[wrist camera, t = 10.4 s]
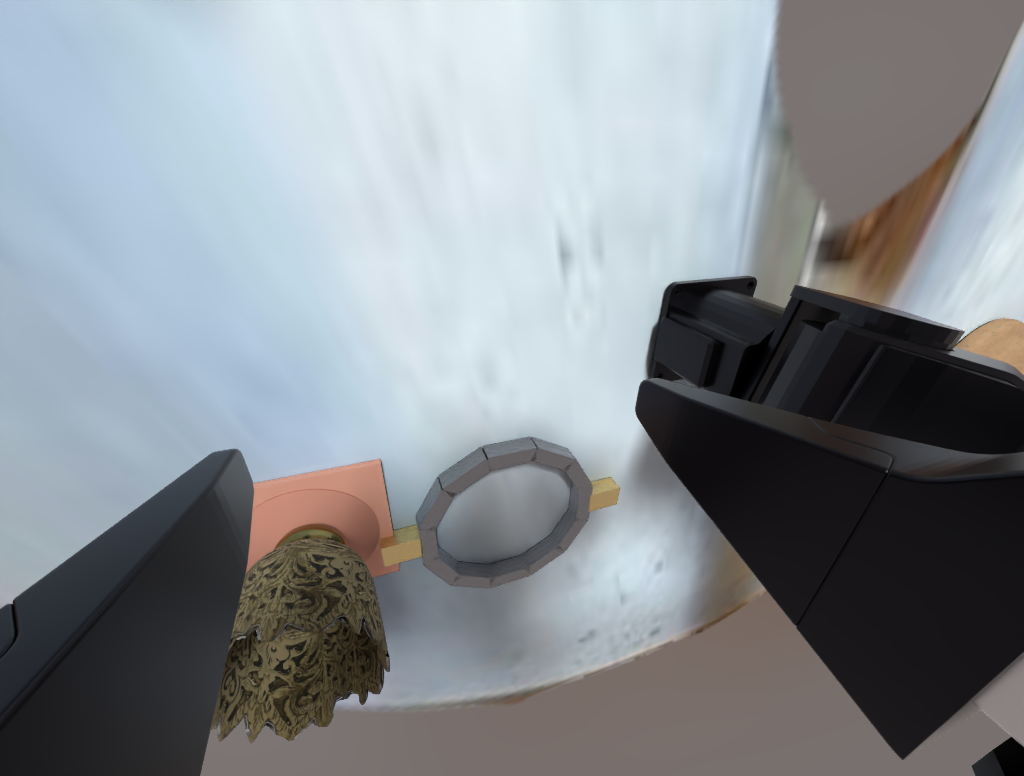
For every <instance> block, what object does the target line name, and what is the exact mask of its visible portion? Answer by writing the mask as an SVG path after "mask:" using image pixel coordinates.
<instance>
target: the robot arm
mask: <svg viewBox="0 0 1024 776" xmlns="http://www.w3.org/2000/svg"><path fill="white" fill-rule="evenodd" d="M756 285H757V280H756V278H754V277H751V276H740V277H728V278H716V279H705V280H693V281H681V282H674V283H671V284H670V285H669V286H668V288H667V290H666V295H665V300H664V305H663V310H662V315H661V320H660V325H659V330H658V335H657V340H656V345H655V350H654V355H653V360H652V364H651V369H650V374H649V377H650V379H646V380H643V381H642V382H641V384H640V386H639V391H638V396H637V401H636V407H635V412H636V415H637V418H638V419H639V421H640V422H641V424H642V426H643V427H644V429H645V430H646V432H647V433H648V435H649V437H650V438H651V440H652V441H653V443H654V444H655V446H656V448H657V449H658V451H659V452H660V454H661V455H662V457H663V458H664V460H665V461H666V463H667V464H668V465H669V467H670V468H671V469H672V471H673V472H674V473H675V475H676V476H677V477H678V478H679V480H680V481H681V482H682V483H683V485H684V486H685V487H686V488H687V490H688V491H689V492H690V494H691V495H692V496H693V497H694V499H695V500H696V501H697V502H698V504H699V505H700V506H701V507H702V509H703V510H704V511H705V513H706V514H707V515H708V516H709V518H710V519H711V520H712V521H713V523H714V524H715V525H716V527H717V528H718V529H719V530H720V532H721V533H722V534H723V535H724V537H725V538H726V539H727V540H728V542H729V543H730V544H731V546H732V547H733V548H734V549H735V551H736V552H737V553H738V554H739V556H740V557H741V558H742V559H743V561H744V562H745V563H746V565H747V566H748V567H749V568H750V570H751V571H752V572H753V573H754V575H755V576H756V577H757V578H758V580H759V581H760V582H761V584H762V585H763V586H764V587H765V589H766V590H767V591H768V592H769V594H770V595H771V596H772V597H773V599H774V600H775V601H776V602H777V604H778V605H779V606H780V608H781V609H782V610H783V611H784V613H785V614H786V615H787V616H788V618H789V619H790V620H791V622H792V623H793V624H794V625H795V626H796V628H797V630H798V631H799V632H800V633H801V635H802V636H803V637H804V638H805V640H806V641H807V642H808V644H809V645H810V646H811V647H812V649H813V650H814V651H815V652H816V654H817V655H818V656H819V657H820V659H821V660H822V661H823V663H824V664H825V665H826V666H827V668H828V669H829V670H830V672H831V673H832V674H833V675H834V676H835V678H836V679H837V680H838V682H839V683H840V684H841V685H842V687H843V688H844V689H845V691H846V692H847V693H848V694H849V696H850V697H851V698H852V700H853V701H854V702H855V703H856V705H857V706H858V707H859V708H860V710H861V711H862V712H863V714H864V715H865V716H866V717H867V718H868V720H869V721H870V722H871V724H872V725H873V726H874V727H875V729H876V730H877V731H878V733H879V734H880V735H881V736H882V737H883V739H884V740H885V741H886V743H887V744H888V745H889V746H890V747H891V749H892V750H893V751H894V752H895V753H896V754H897V755H898V756H899V757H900V758H901V759H902V760H905V759H906V758H908V757H910V756H911V755H913V754H914V753H916V752H917V751H919V750H920V749H922V748H924V747H925V746H927V745H928V744H930V743H931V742H933V741H934V740H936V739H938V738H939V737H941V736H942V735H944V734H945V733H947V732H948V731H950V730H952V729H953V728H954V727H956V726H958V725H959V724H961V723H962V722H964V721H966V720H967V719H969V718H970V717H972V716H973V715H975V714H976V713H978V712H979V711H981V710H982V711H983V712H984V713H985V714H986V715H987V716H988V717H990V718H991V719H992V720H993V721H994V722H995V723H996V724H998V725H999V726H1000V727H1001V728H1002V729H1003V730H1005V731H1006V732H1007V733H1008V734H1009V735H1010V736H1011V738H1009V739H1008V740H1006V741H1005V742H1003V743H1002V744H1001V745H999V746H998V747H996V748H995V749H993V750H992V751H991V752H989V753H988V754H987V755H985V756H984V757H983V758H982V759H980V760H979V761H978V762H976V763H975V764H974V765H972V768H973V770H974V773H975V776H1024V375H1023V374H1022V373H1021V372H1020V371H1019V370H1018V369H1016V368H1015V367H1014V366H1012V365H1010V364H1008V363H1006V362H1003V361H999V360H996V359H993V358H989V357H986V356H983V355H979V354H976V353H973V352H970V351H966V350H963V349H960V348H956V347H955V345H956V343H957V342H958V341H959V339H960V338H961V336H962V335H963V334H964V332H965V331H963V330H960V329H957V328H953V327H950V326H947V325H944V324H941V323H938V322H935V321H932V320H929V319H926V318H922V317H919V316H916V315H913V314H910V313H907V312H904V311H900V310H897V309H893V308H889V307H885V306H881V305H878V304H874V303H870V302H866V301H863V300H859V299H855V298H851V297H847V296H842V295H838V294H834V293H829V292H825V291H820V290H816V289H811V288H807V287H803V286H798V285H795V286H794V288H793V290H792V292H791V294H790V296H792V297H791V299H790V301H789V303H788V305H787V306H786V308H783V307H780V306H777V305H774V304H771V303H768V302H765V301H762V300H759V299H756V298H753V295H754V291H755V288H756ZM676 289H677V291H676V293H675V294H674V292H675V290H676ZM658 374H659V375H658ZM657 375H658V376H657ZM679 379H685V380H687V381H688V382H690V383H691V384H693V385H695V386H696V387H698V388H695V387H691V386H687V385H683V384H679V383H676V382H672V381H673V380H679ZM699 388H702V389H699ZM703 389H704V390H703ZM253 500H254V485H253V481H252V478H251V476H250V473H249V471H248V468H247V465H246V463H245V460H244V458H243V455H242V453H241V452H240V451H239V450H238V449H229V450H223V451H217V452H213V453H211V454H210V455H208V456H207V457H206V458H204V459H203V460H202V461H200V462H199V463H198V464H196V465H195V466H194V467H192V468H191V469H189V470H188V471H187V472H185V473H184V474H183V475H181V476H180V477H179V478H177V479H176V480H175V481H173V482H172V483H171V484H169V485H168V486H166V487H165V488H164V489H162V490H161V491H160V492H158V493H157V494H156V495H154V496H153V497H152V498H150V499H149V500H147V501H146V502H145V503H143V504H142V505H141V506H139V507H138V508H137V509H135V510H134V511H133V512H131V513H130V514H128V515H127V516H126V517H124V518H123V519H122V520H120V521H119V522H118V523H116V524H115V525H114V526H112V527H111V528H110V529H108V530H107V531H105V532H104V533H103V534H101V535H100V536H99V537H97V538H96V539H95V540H93V541H92V542H91V543H89V544H88V545H86V546H85V547H84V548H82V549H81V550H80V551H78V552H77V553H76V554H74V555H73V556H72V557H70V558H69V559H68V560H66V561H65V562H63V563H62V564H61V565H59V566H58V567H57V568H55V569H54V570H53V571H51V572H50V573H49V574H47V575H46V576H44V577H43V578H42V579H40V580H39V581H38V582H36V583H35V584H34V585H32V586H31V587H30V588H28V589H27V590H26V591H24V592H23V593H21V594H20V595H19V596H17V597H16V598H15V599H14V600H13V604H7V605H5V606H4V607H2V608H1V609H0V776H200V774H201V769H202V765H203V761H204V756H205V751H206V747H207V743H208V738H209V734H210V730H211V725H212V721H213V716H214V712H215V707H216V703H217V699H218V694H219V690H220V685H221V681H222V676H223V672H224V668H225V663H226V659H227V654H228V650H229V645H230V641H231V637H232V632H233V628H234V623H235V619H236V614H237V610H238V606H239V601H240V597H241V592H242V588H243V583H244V579H245V574H246V569H247V564H248V555H249V545H250V534H251V523H252V511H253Z"/></svg>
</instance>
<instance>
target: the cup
mask: <svg viewBox="0 0 1024 776" xmlns="http://www.w3.org/2000/svg"><path fill="white" fill-rule="evenodd" d="M387 648H388V647H387V643H386V638H385V633H384V628H383V623H382V618H381V613H380V608H379V603H378V598H377V594H376V590H375V586H374V583H373V580H372V576H371V574H370V572H369V569H368V567H367V565H366V564H365V562H364V561H363V559H362V558H361V557H360V556H359V555H358V554H357V553H356V552H355V551H354V550H352V549H351V548H350V547H348V546H346V544H345V541H344V539H343V538H342V536H341V535H340V533H339V532H338V531H337V530H335V529H334V528H332V527H330V526H327V525H323V524H307V525H302V526H299V527H297V528H294V529H292V530H291V531H289V532H288V533H286V534H285V535H284V536H283V537H282V538H281V539H280V541H279V542H278V543H277V545H276V546H275V548H274V550H273V551H271V552H269V553H268V554H266V555H265V556H264V557H262V558H261V559H260V560H258V561H257V562H256V563H255V564H254V565H253V566H252V567H251V568H250V569H249V570H248V571H247V573H246V574H245V579H244V583H243V588H242V592H241V597H240V601H239V606H238V610H237V614H236V619H235V623H234V628H233V632H232V637H231V641H230V645H229V650H228V654H227V659H226V663H225V668H224V672H223V676H222V681H221V685H220V690H219V694H218V699H217V703H216V707H215V712H214V716H213V721H212V725H211V730H212V729H216V728H217V732H218V739H219V741H222V740H223V739H224V738H225V737H226V736H228V734H229V733H230V732H231V731H232V730H233V729H234V727H236V726H237V725H239V724H240V722H241V721H242V719H243V718H244V723H245V731H246V733H247V735H248V739H249V741H250V743H253V741H254V740H255V739H256V738H257V736H258V734H259V733H260V731H261V730H262V728H263V726H268V727H270V729H272V730H273V732H274V734H277V735H280V736H282V737H284V738H286V739H287V740H288V741H291V740H294V739H295V738H297V737H298V736H299V735H300V734H301V733H302V732H303V731H304V730H305V729H306V728H307V727H309V726H310V725H311V724H312V723H313V724H315V725H316V726H318V727H327V726H328V725H329V724H330V722H331V720H332V718H333V710H334V706H335V702H337V701H336V700H338V699H339V698H341V697H342V698H341V699H339V700H344V699H347V698H348V697H349V696H350V695H351V694H353V693H354V694H358V695H359V701H360V703H361V705H363V704H365V702H366V700H367V697H368V690H369V692H372V694H380V692H381V690H382V688H383V683H384V668H385V670H386V671H387V672H390V659H389V654H388V650H387ZM351 692H353V693H351ZM339 700H338V701H339Z"/></svg>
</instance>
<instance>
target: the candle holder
mask: <svg viewBox="0 0 1024 776" xmlns="http://www.w3.org/2000/svg"><path fill="white" fill-rule="evenodd" d="M955 347H956V348H960V349H963V350H966V351H970V352H973V353H976V354H979V355H983V356H986V357H989V358H993V359H996V360H999V361H1003V362H1006V363H1008V364H1010V365H1012V366H1014V367H1015V368H1016V369H1018V370H1019V371H1020V372H1021V373H1022V374H1023V375H1024V323H1022V322H1020V321H1018V320H1014V319H1005V318H1003V319H997V320H994V321H991V322H988V323H986V324H984V325H983V326H981V327H979V328H978V329H976V330H975V331H973V332H972V333H970V334H969V335H968V336H967V337H965V338H964V339H963V340H962V341H961V342H960V343H958V344H957V345H956V346H955Z"/></svg>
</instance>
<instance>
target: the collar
mask: <svg viewBox="0 0 1024 776" xmlns="http://www.w3.org/2000/svg"><path fill="white" fill-rule="evenodd" d="M532 461H533V462H537V463H540V464H544V465H547V466H551V467H555V468H558V469H562V470H565V472H566V473H567V475H568V476H569V477H570V479H571V480H572V486H571V494H570V503H569V509H568V511H567V512H566V513H565V515H564V516H563V518H562V519H561V521H560V522H559V524H558V525H557V526H556V528H555V529H554V531H553V532H552V534H551V535H550V536H548V537H547V538H545V539H544V540H543V541H541V542H540V543H538V544H537V545H535V546H534V547H532V548H531V549H530V550H528V551H527V552H525V553H524V554H522V555H520V556H516V557H513V558H510V559H506V560H503V561H499V562H496V563H492V564H489V565H486V564H477V563H468V562H459V561H456V560H454V559H453V558H452V557H451V556H449V555H448V554H447V553H446V552H445V551H443V550H442V549H441V548H440V547H439V546H437V540H436V531H435V528H436V527H437V525H438V523H439V522H440V520H441V518H442V517H443V515H444V513H445V511H446V510H447V508H448V506H449V505H450V503H451V501H452V500H453V498H454V496H455V495H457V494H458V493H459V492H461V491H462V490H464V489H465V488H467V487H468V486H470V485H471V484H473V483H474V482H475V481H477V480H478V479H480V478H481V477H483V476H484V475H486V474H487V473H489V472H490V471H491V470H496V469H500V468H505V467H509V466H514V465H519V464H523V463H528V462H532ZM619 491H620V487H619V486H618V485H617V484H616V482H615V481H614V480H613V479H612V478H611V477H610V478H606V479H602V480H597V481H593V482H590V481H589V479H588V477H587V476H586V474H585V473H584V471H583V470H582V468H581V466H580V465H579V463H578V462H577V460H576V459H575V457H574V456H573V455H572V453H571V452H570V451H569V449H567V448H565V447H561V446H558V445H555V444H552V443H549V442H546V441H543V440H539V439H536V438H533V437H531V438H530V437H526V438H521V439H516V440H511V441H506V442H501V443H496V444H491V445H486V446H482V448H481V447H480V448H478V449H477V450H475V451H474V452H472V453H471V454H470V455H468V456H467V457H465V458H464V459H462V460H461V461H459V462H458V463H456V464H455V465H454V466H452V467H451V468H449V469H448V470H446V471H445V472H443V473H442V474H440V475H439V477H437V479H436V481H435V482H434V484H433V486H432V488H431V489H430V491H429V493H428V495H427V497H426V498H425V500H424V502H423V504H422V505H421V507H420V509H419V511H418V513H417V514H416V521H417V525H414V526H410V527H406V528H402V529H397V530H393V536H389V537H385V538H381V539H380V543H381V551H382V556H383V561H384V566H389V565H393V564H396V563H400V562H404V561H407V560H411V559H415V558H419V557H422V561H423V564H424V566H425V567H427V568H428V569H429V570H431V571H432V572H433V573H435V574H436V575H437V576H439V577H440V578H441V579H443V580H444V581H445V582H447V583H448V584H449V585H452V586H466V587H479V588H489V587H490V588H492V587H495V586H498V585H502V584H505V583H508V582H511V581H515V580H518V579H521V578H524V577H528V576H530V575H532V574H533V573H535V572H536V571H538V570H539V569H541V568H542V567H544V566H545V565H546V564H548V563H549V562H551V561H552V560H554V559H555V558H556V557H558V556H559V555H561V554H562V553H564V552H565V551H566V550H567V548H568V547H569V546H570V544H571V543H572V541H573V540H574V539H575V537H576V536H577V534H578V533H579V532H580V530H581V529H582V527H583V526H584V525H585V523H586V522H587V521H588V520H587V519H588V518H589V512H590V511H593V510H597V509H601V508H604V507H608V506H612V505H616V504H617V501H618V496H619Z"/></svg>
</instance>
